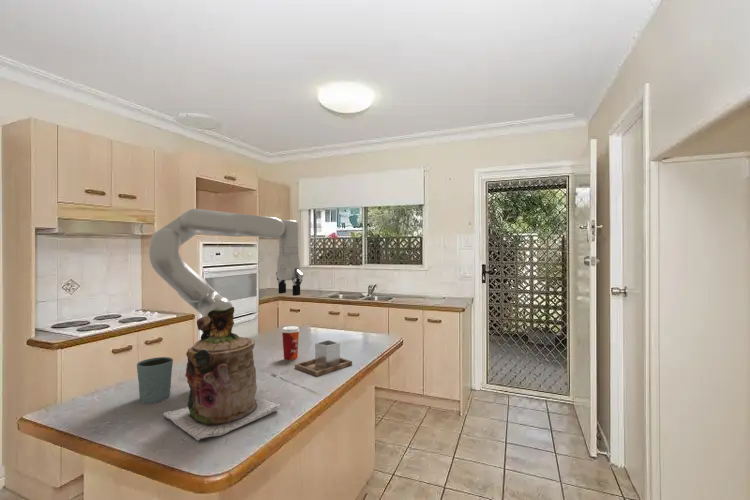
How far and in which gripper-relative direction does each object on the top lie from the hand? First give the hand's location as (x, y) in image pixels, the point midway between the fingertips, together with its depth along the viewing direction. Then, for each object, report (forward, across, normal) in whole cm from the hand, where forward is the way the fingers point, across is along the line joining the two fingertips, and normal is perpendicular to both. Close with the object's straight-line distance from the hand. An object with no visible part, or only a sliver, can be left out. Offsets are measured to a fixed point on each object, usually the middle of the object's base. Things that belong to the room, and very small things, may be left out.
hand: (289, 294), depth 147 cm
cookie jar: (+31, +18, -36) cm, 50 cm away
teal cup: (+31, -10, -45) cm, 55 cm away
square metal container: (+29, +9, +12) cm, 33 cm away
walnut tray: (+30, +9, +10) cm, 33 cm away
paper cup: (+31, -11, +8) cm, 33 cm away
